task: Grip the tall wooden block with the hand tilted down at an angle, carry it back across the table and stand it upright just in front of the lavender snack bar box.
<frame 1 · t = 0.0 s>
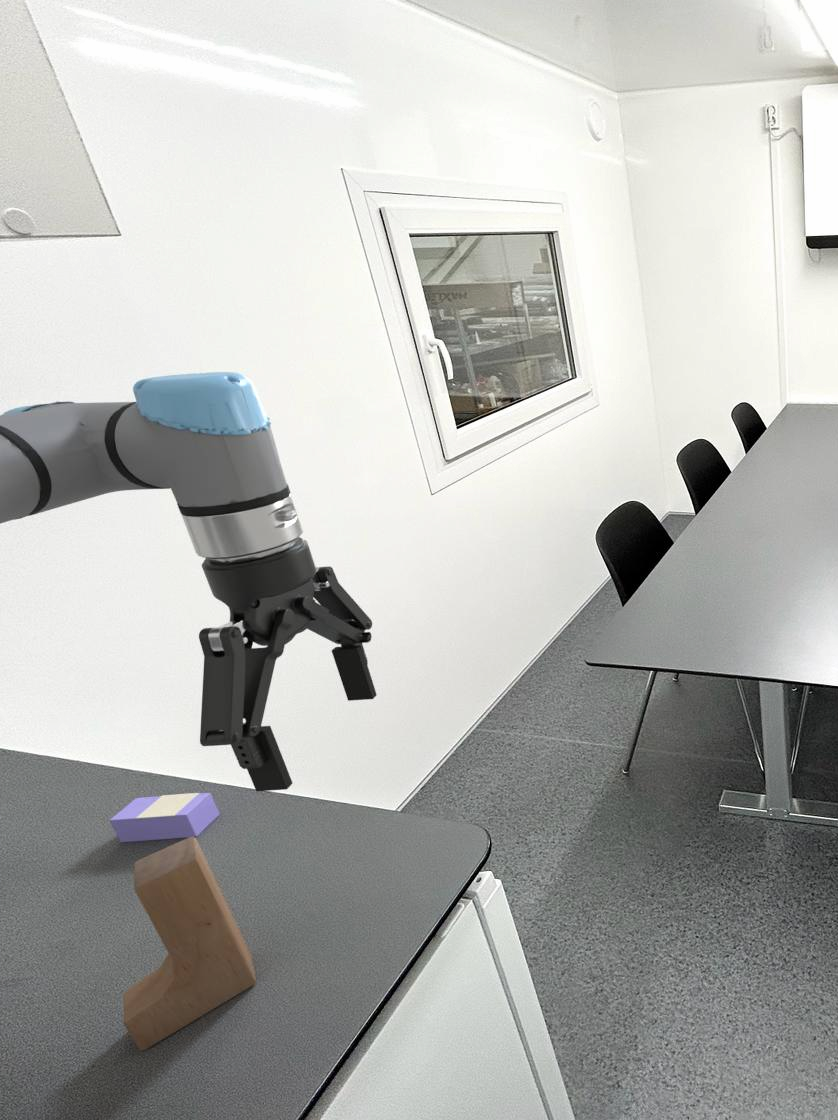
hand: (323, 738, 64), 27 cm above the table, tool pointing down, fingers open, 13 cm apart
wooden block: (200, 1003, 65), on the table
snack box: (171, 828, 87), on the table
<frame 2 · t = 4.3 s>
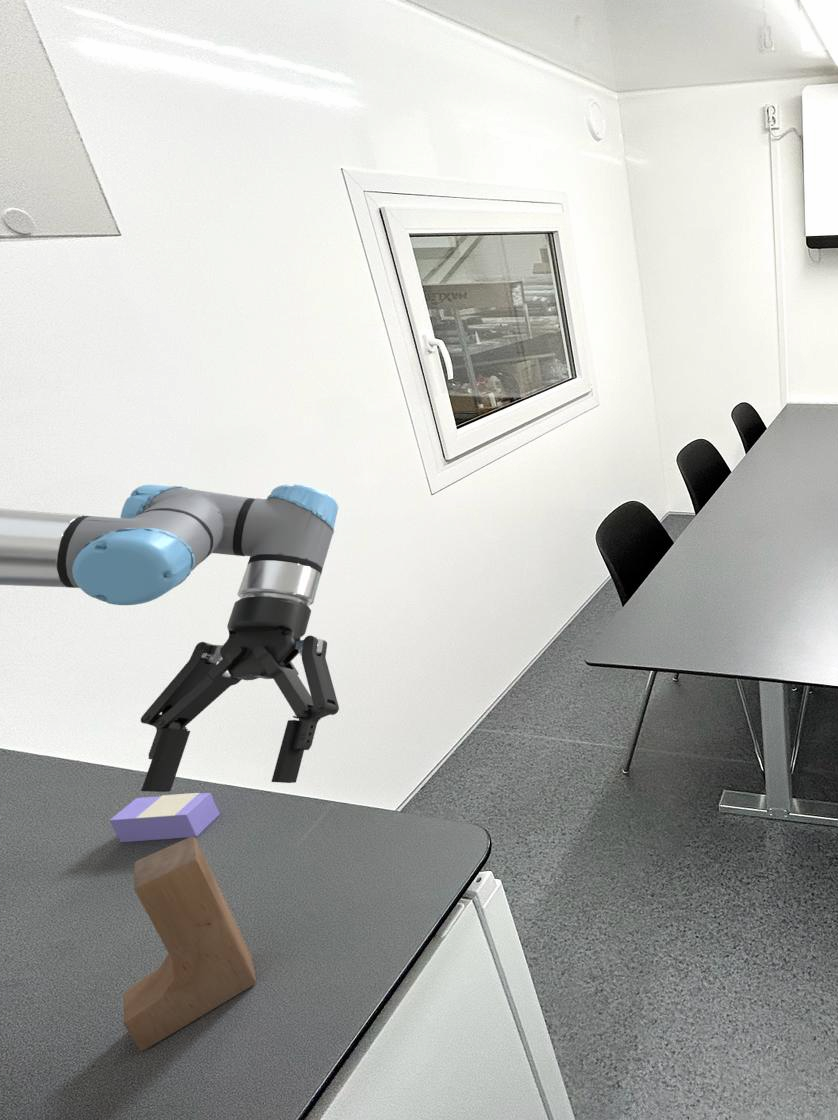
hand: (220, 787, 69), 19 cm above the table, tool tilted 45°, fingers open, 13 cm apart
nothing on the table moved.
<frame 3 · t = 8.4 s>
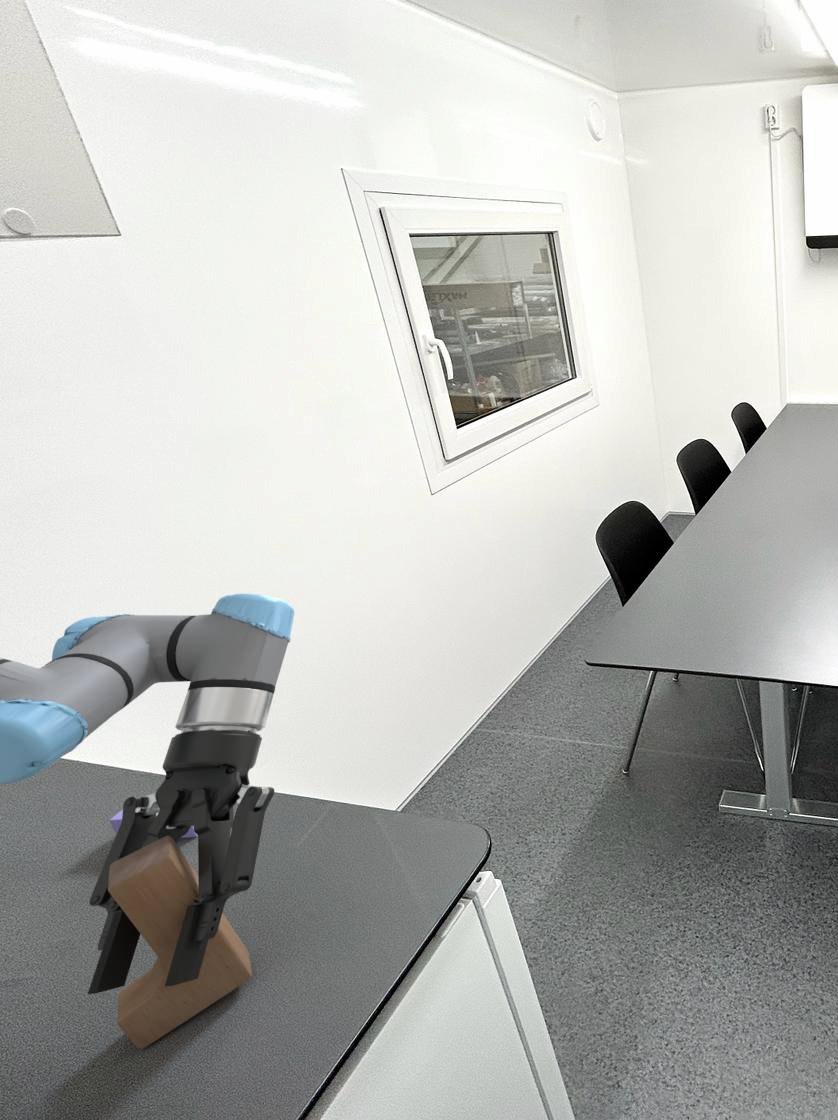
hand: (144, 985, 59), 8 cm above the table, tool tilted 45°, fingers closed on wooden block, 6 cm apart
wooden block: (199, 1000, 65), on the table, touching gripper
everything else where it was.
when the fingers open (8 cm above the table, at t = 18.0 s): wooden block stays where it is, on the table.
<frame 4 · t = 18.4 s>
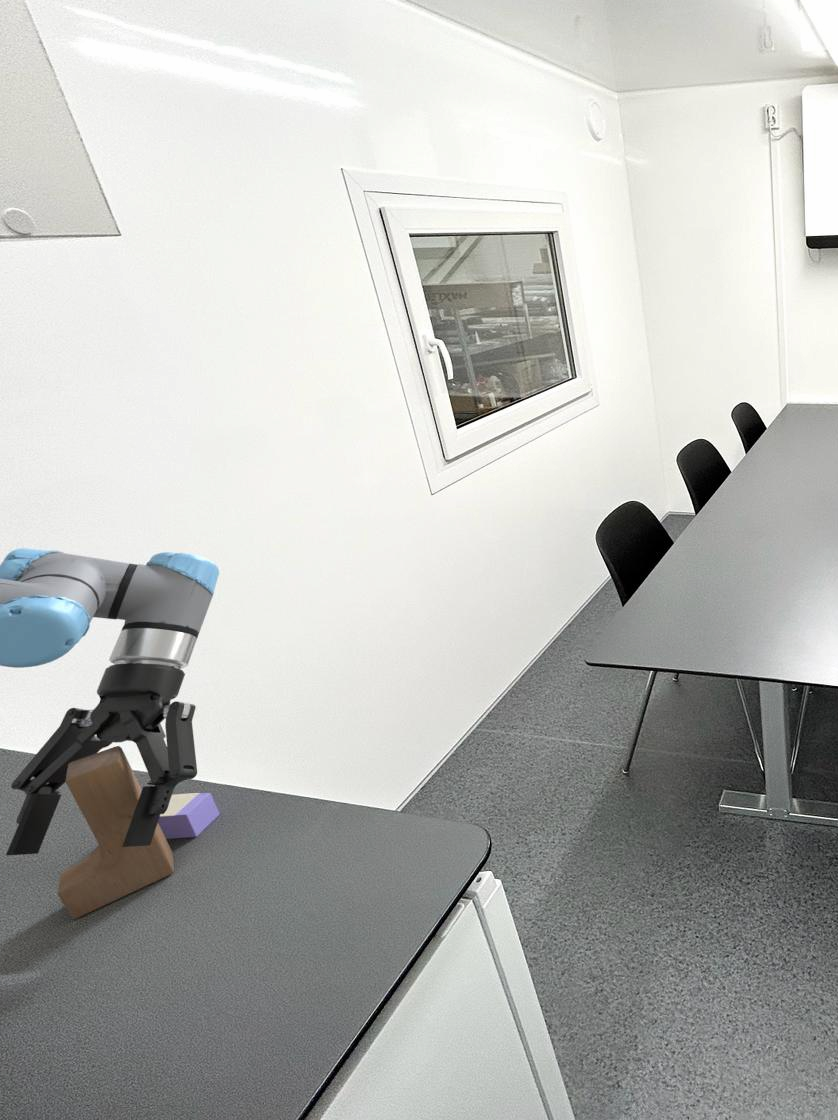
hand: (79, 850, 73), 9 cm above the table, tool tilted 45°, fingers open, 12 cm apart
wooden block: (126, 887, 79), on the table
everything else where it was.
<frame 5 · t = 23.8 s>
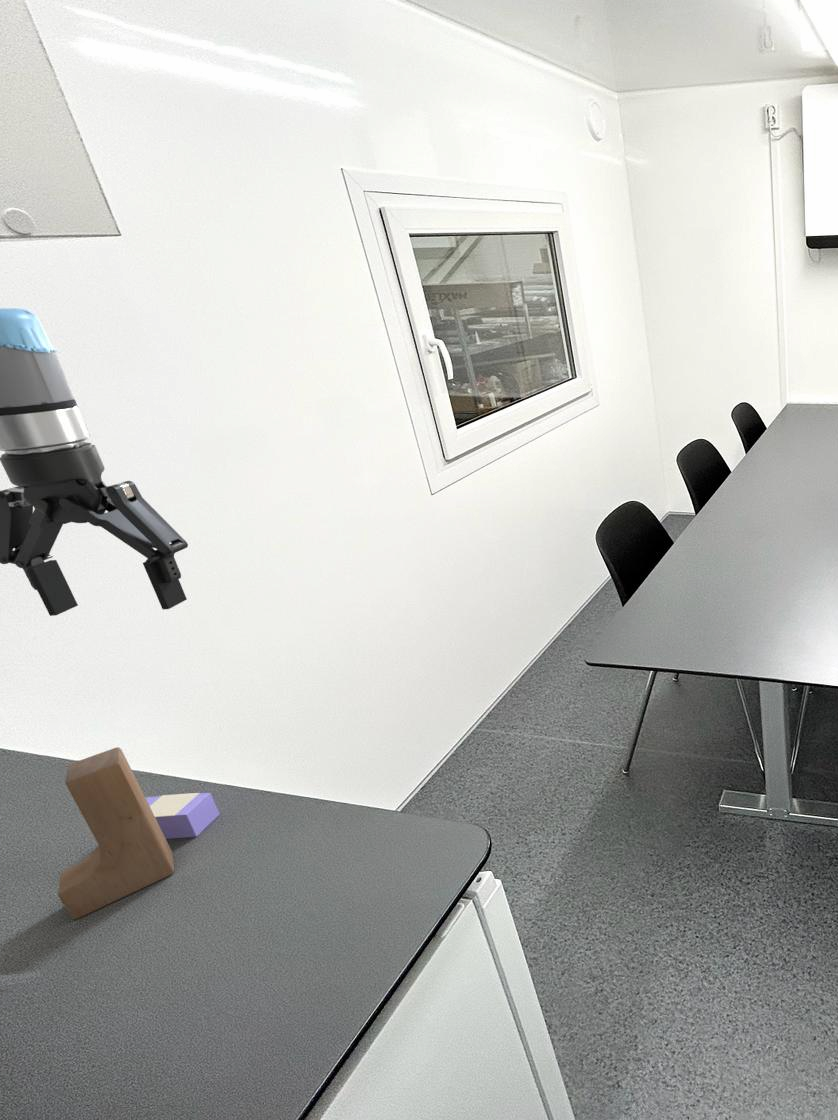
hand: (120, 607, 80), 33 cm above the table, tool pointing down, fingers open, 13 cm apart
nothing on the table moved.
at the end: wooden block inside the target area on the table beside the snack box (0.1 cm from its centre), on the table; wooden block tilted 0°; the gripper is holding nothing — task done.
